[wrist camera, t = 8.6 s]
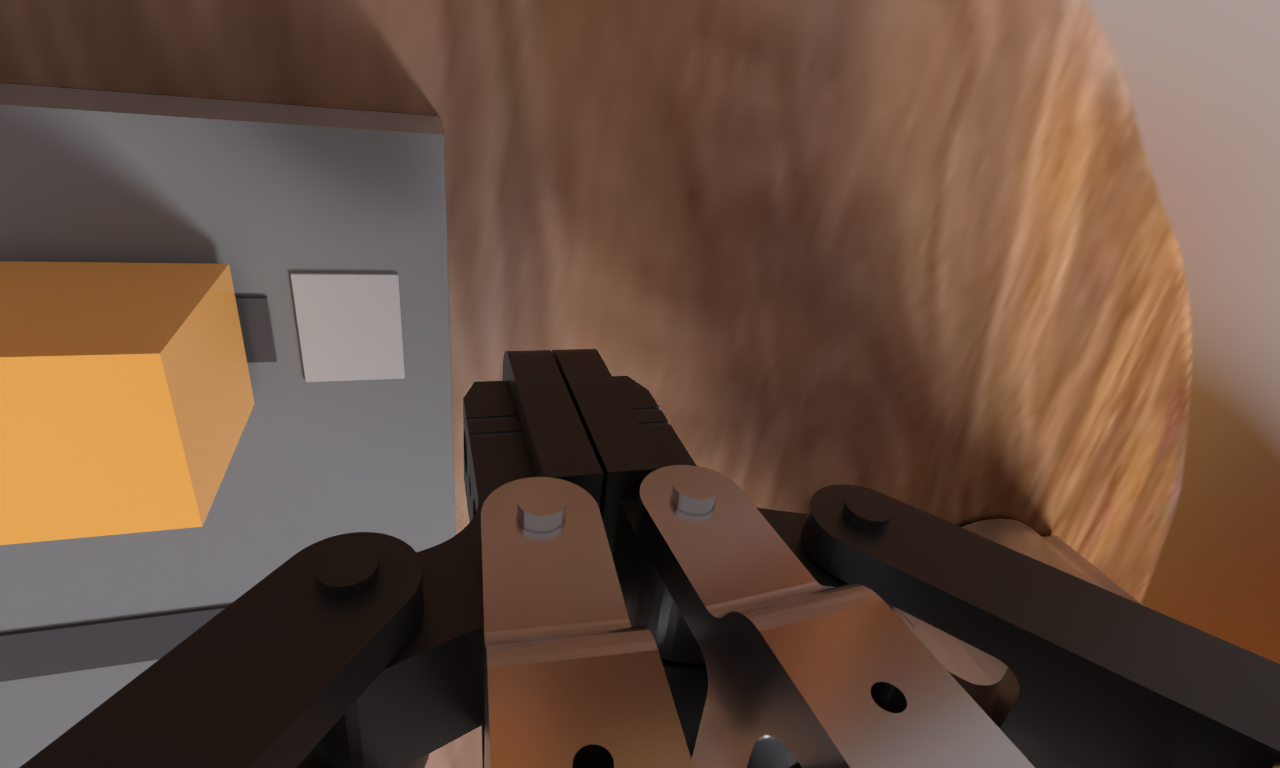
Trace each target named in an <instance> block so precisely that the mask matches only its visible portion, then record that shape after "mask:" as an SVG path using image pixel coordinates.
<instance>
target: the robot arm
mask: <svg viewBox="0 0 1280 768" xmlns="http://www.w3.org/2000/svg"><path fill="white" fill-rule="evenodd" d="M463 413H464V481H465V489H466V497H467V505H468V513H469V519H470V523H469V524H468V525H467V526H466V527H465V528H464V529H463V530H462V531H461V532H460V533H458V534H457V535H455V536H454V537H452V538H451V539H449V540H447V541H445V542H443V543H441V544H438V545H436V546H433V547H431V548H428V549H425V550H422V551H419V552H416V551H415V550H414V549H413V548H412V547H411V546H410V545H408V544H407V543H406V542H404V541H402V540H400V539H398V538H396V537H393V536H390V535H387V534H382V533H375V532H355V533H347V534H341V535H336V536H333V537H329V538H326V539H323V540H321V541H318V542H316V543H314V544H312V545H310V546H308V547H306V548H304V549H302V550H301V551H299V552H298V553H297V554H295V555H294V556H292V557H291V558H290V559H288V560H287V561H286V562H285V563H283V564H282V565H281V566H279V567H278V568H277V569H275V570H274V571H273V572H272V573H270V574H269V575H268V576H266V577H265V578H264V579H263V580H261V581H260V582H259V583H257V584H256V585H255V586H253V587H252V588H251V589H250V590H248V591H247V592H246V593H244V594H243V595H242V596H241V597H239V598H238V599H237V600H235V601H234V602H233V603H232V604H230V605H229V606H228V607H226V608H225V609H224V610H222V611H221V612H220V613H219V614H217V615H216V616H215V617H213V618H212V619H211V620H210V621H208V622H207V623H206V624H204V625H203V626H202V627H200V628H199V629H198V630H197V631H195V632H194V633H193V634H191V635H190V636H189V637H188V638H186V639H185V640H184V641H182V642H181V643H180V644H178V645H177V646H176V647H175V648H173V649H172V650H171V651H169V652H168V653H167V654H166V655H164V656H163V657H162V658H160V659H159V660H158V661H157V662H155V663H154V664H153V665H151V666H150V667H149V668H147V669H146V670H145V671H144V672H142V673H141V674H140V675H138V676H137V677H136V678H135V679H133V680H132V681H131V682H129V683H128V684H127V685H125V686H124V687H123V688H122V689H120V690H119V691H118V692H116V693H115V694H114V695H113V696H111V697H110V698H109V699H107V700H106V701H105V702H104V703H102V704H101V705H100V706H98V707H97V708H96V709H94V710H93V711H92V712H91V713H89V714H88V715H87V716H85V717H84V718H83V719H82V720H80V721H79V722H78V723H76V724H75V725H74V726H72V727H71V728H70V729H69V730H67V731H66V732H65V733H63V734H62V735H61V736H60V737H58V738H57V739H56V740H54V741H53V742H52V743H50V744H49V745H48V746H47V747H45V748H44V749H43V750H41V751H40V752H39V753H38V754H36V755H35V756H34V757H32V758H31V759H30V760H29V761H27V762H26V763H25V764H23V765H22V766H21V767H19V768H424V767H425V765H426V762H427V760H428V756H429V753H431V752H433V751H434V750H436V749H438V748H440V747H442V746H444V745H446V744H448V743H449V742H451V741H453V740H455V739H457V738H459V737H461V736H462V735H464V734H466V733H468V732H470V731H472V730H474V729H476V728H477V727H479V726H481V750H482V768H1280V664H1278V663H1276V662H1273V661H1271V660H1269V659H1266V658H1264V657H1262V656H1259V655H1257V654H1255V653H1252V652H1250V651H1248V650H1245V649H1243V648H1241V647H1238V646H1236V645H1233V644H1231V643H1229V642H1227V641H1224V640H1222V639H1220V638H1217V637H1215V636H1213V635H1210V634H1208V633H1206V632H1203V631H1201V630H1199V629H1196V628H1194V627H1192V626H1189V625H1187V624H1185V623H1182V622H1180V621H1178V620H1175V619H1173V618H1171V617H1168V616H1166V615H1164V614H1161V613H1159V612H1156V611H1154V610H1152V609H1150V608H1147V607H1145V606H1143V605H1142V604H1141V603H1139V602H1138V601H1137V600H1136V599H1134V598H1133V597H1132V596H1131V595H1129V594H1128V593H1127V592H1126V591H1124V590H1123V589H1122V588H1121V587H1119V586H1118V585H1117V584H1116V583H1114V582H1113V581H1112V580H1111V579H1109V578H1108V577H1107V576H1106V575H1104V574H1103V573H1102V572H1101V571H1099V570H1098V569H1097V568H1096V567H1094V566H1093V565H1092V564H1091V563H1090V562H1088V561H1087V560H1086V559H1085V558H1083V557H1082V556H1081V555H1080V554H1078V553H1077V552H1076V551H1075V550H1073V549H1072V548H1071V547H1070V546H1068V545H1067V544H1066V543H1065V542H1063V541H1062V540H1061V539H1060V538H1058V537H1057V536H1047V537H1042V536H1040V535H1039V534H1038V533H1037V532H1035V531H1034V530H1033V529H1032V528H1030V527H1029V526H1028V525H1026V524H1024V523H1021V522H1019V521H1017V520H1011V519H1002V518H998V519H990V520H982V521H978V522H975V523H972V524H969V525H965V526H962V527H959V526H956V525H954V524H952V523H949V522H947V521H945V520H942V519H940V518H938V517H935V516H933V515H931V514H928V513H926V512H924V511H921V510H919V509H917V508H914V507H912V506H910V505H907V504H905V503H903V502H900V501H898V500H896V499H893V498H891V497H889V496H886V495H884V494H882V493H879V492H877V491H874V490H871V489H868V488H864V487H860V486H854V485H832V486H827V487H824V488H822V489H820V490H818V491H817V492H816V493H815V494H814V495H813V497H812V498H811V502H810V505H809V508H808V512H807V514H801V513H793V512H785V511H776V510H768V509H762V508H756V507H755V505H754V504H753V503H752V502H751V501H750V499H749V498H748V497H747V496H746V494H745V493H744V492H743V491H742V490H741V488H740V487H739V486H738V485H737V484H736V483H734V482H733V481H732V480H730V479H729V478H727V477H726V476H724V475H722V474H720V473H718V472H716V471H713V470H710V469H707V468H703V467H699V466H696V464H695V463H694V461H693V460H692V458H691V457H690V455H689V453H688V452H687V450H686V449H685V447H684V446H683V444H682V442H681V441H680V439H679V438H678V436H677V435H676V433H675V431H674V430H673V428H672V427H671V425H668V420H667V419H666V417H665V416H664V414H663V413H662V411H661V410H659V406H658V405H657V403H656V402H655V400H654V398H653V397H652V395H651V394H650V392H649V391H648V390H647V389H646V388H644V387H643V386H641V385H640V384H638V383H637V382H635V381H634V380H632V379H631V378H629V377H628V376H614V377H612V376H611V374H610V372H609V370H608V369H607V367H606V365H605V363H604V361H603V360H602V358H601V356H600V354H599V353H598V351H597V350H596V349H575V350H552V351H550V350H539V351H505V354H504V360H503V381H486V382H474V384H473V385H472V387H471V388H470V390H469V391H468V393H467V394H466V396H465V397H464V399H463Z"/></svg>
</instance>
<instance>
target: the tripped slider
mask: <svg viewBox="0 0 1280 768" xmlns="http://www.w3.org/2000/svg"><path fill="white" fill-rule="evenodd" d="M254 404H255V403H254V397H253V392H252V386H251V381H250V375H249V370H248V364H247V359H246V353H245V348H244V342H243V337H242V331H241V326H240V320H239V315H238V309H237V304H236V298H235V293H234V287H233V282H232V276H231V271H230V265H229V264H209V263H119V262H28V261H0V545H9V544H20V543H31V542H42V541H53V540H64V539H75V538H85V537H96V536H107V535H118V534H129V533H140V532H151V531H161V530H172V529H183V528H194V527H203V524H204V522H205V520H206V517H207V515H208V513H209V510H210V508H211V505H212V503H213V501H214V498H215V496H216V494H217V491H218V489H219V487H220V484H221V482H222V479H223V477H224V475H225V472H226V470H227V468H228V465H229V463H230V461H231V458H232V456H233V453H234V451H235V449H236V446H237V444H238V442H239V439H240V437H241V435H242V432H243V430H244V427H245V425H246V423H247V420H248V418H249V416H250V413H251V411H252V409H253V406H254Z"/></svg>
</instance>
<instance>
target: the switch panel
mask: <svg viewBox="0 0 1280 768" xmlns="http://www.w3.org/2000/svg"><path fill="white" fill-rule="evenodd" d="M0 261H28V262H119V263H209V264H229V265H230V271H231V276H232V282H233V287H234V293H235V298H236V304H237V309H238V315H239V320H240V326H241V331H242V337H243V342H244V348H245V353H246V359H247V364H248V370H249V375H250V381H251V386H252V392H253V397H254V403H255V404H254V406H253V409H252V411H251V413H250V416H249V418H248V420H247V423H246V425H245V427H244V430H243V432H242V435H241V437H240V439H239V442H238V444H237V446H236V449H235V451H234V453H233V456H232V458H231V461H230V463H229V465H228V468H227V470H226V472H225V475H224V477H223V479H222V482H221V484H220V487H219V489H218V491H217V494H216V496H215V498H214V501H213V503H212V505H211V508H210V510H209V513H208V515H207V517H206V520H205V522H204V524H203V527H194V528H183V529H172V530H161V531H151V532H140V533H129V534H118V535H107V536H96V537H85V538H75V539H64V540H53V541H42V542H31V543H20V544H9V545H0V768H19V767H21V766H22V765H23V764H25V763H26V762H27V761H29V760H30V759H31V758H32V757H34V756H35V755H36V754H38V753H39V752H40V751H41V750H43V749H44V748H45V747H47V746H48V745H49V744H50V743H52V742H53V741H54V740H56V739H57V738H58V737H60V736H61V735H62V734H63V733H65V732H66V731H67V730H69V729H70V728H71V727H72V726H74V725H75V724H76V723H78V722H79V721H80V720H82V719H83V718H84V717H85V716H87V715H88V714H89V713H91V712H92V711H93V710H94V709H96V708H97V707H98V706H100V705H101V704H102V703H104V702H105V701H106V700H107V699H109V698H110V697H111V696H113V695H114V694H115V693H116V692H118V691H119V690H120V689H122V688H123V687H124V686H125V685H127V684H128V683H129V682H131V681H132V680H133V679H135V678H136V677H137V676H138V675H140V674H141V673H142V672H144V671H145V670H146V669H147V668H149V667H150V666H151V665H153V664H154V663H155V662H157V661H158V660H159V659H160V658H162V657H163V656H164V655H166V654H167V653H168V652H169V651H171V650H172V649H173V648H175V647H176V646H177V645H178V644H180V643H181V642H182V641H184V640H185V639H186V638H188V637H189V636H190V635H191V634H193V633H194V632H195V631H197V630H198V629H199V628H200V627H202V626H203V625H204V624H206V623H207V622H208V621H210V620H211V619H212V618H213V617H215V616H216V615H217V614H219V613H220V612H221V611H222V610H224V609H225V608H226V607H228V606H229V605H230V604H232V603H233V602H234V601H235V600H237V599H238V598H239V597H241V596H242V595H243V594H244V593H246V592H247V591H248V590H250V589H251V588H252V587H253V586H255V585H256V584H257V583H259V582H260V581H261V580H263V579H264V578H265V577H266V576H268V575H269V574H270V573H272V572H273V571H274V570H275V569H277V568H278V567H279V566H281V565H282V564H283V563H285V562H286V561H287V560H288V559H290V558H291V557H292V556H294V555H295V554H297V553H298V552H299V551H301V550H302V549H304V548H306V547H308V546H310V545H312V544H314V543H316V542H318V541H321V540H323V539H326V538H329V537H333V536H336V535H341V534H347V533H355V532H375V533H382V534H387V535H390V536H393V537H396V538H398V539H400V540H402V541H404V542H406V543H407V544H408V545H410V546H411V547H412V548H413V549H414V550H415V551H416V552H419V551H422V550H425V549H428V548H431V547H433V546H436V545H438V544H441V543H443V542H445V541H447V540H449V539H451V538H452V537H454V536H455V535H456V526H455V492H454V457H453V422H452V388H451V353H450V318H449V284H448V249H447V214H446V179H445V145H444V132H443V128H442V124H441V120H440V116H430V115H417V114H404V113H390V112H377V111H364V110H351V109H338V108H324V107H311V106H298V105H285V104H271V103H258V102H245V101H232V100H219V99H205V98H192V97H179V96H166V95H153V94H139V93H126V92H113V91H100V90H87V89H73V88H60V87H47V86H34V85H21V84H7V83H0Z"/></svg>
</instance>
